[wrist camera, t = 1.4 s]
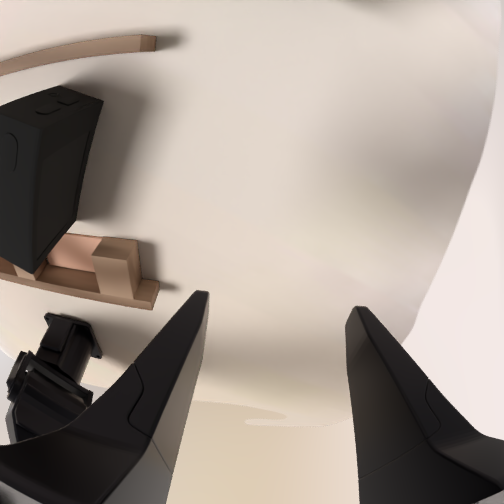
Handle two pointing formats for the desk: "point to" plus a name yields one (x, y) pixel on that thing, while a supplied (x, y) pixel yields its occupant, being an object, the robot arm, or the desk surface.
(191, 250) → the desk surface
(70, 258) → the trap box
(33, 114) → the digital camera
